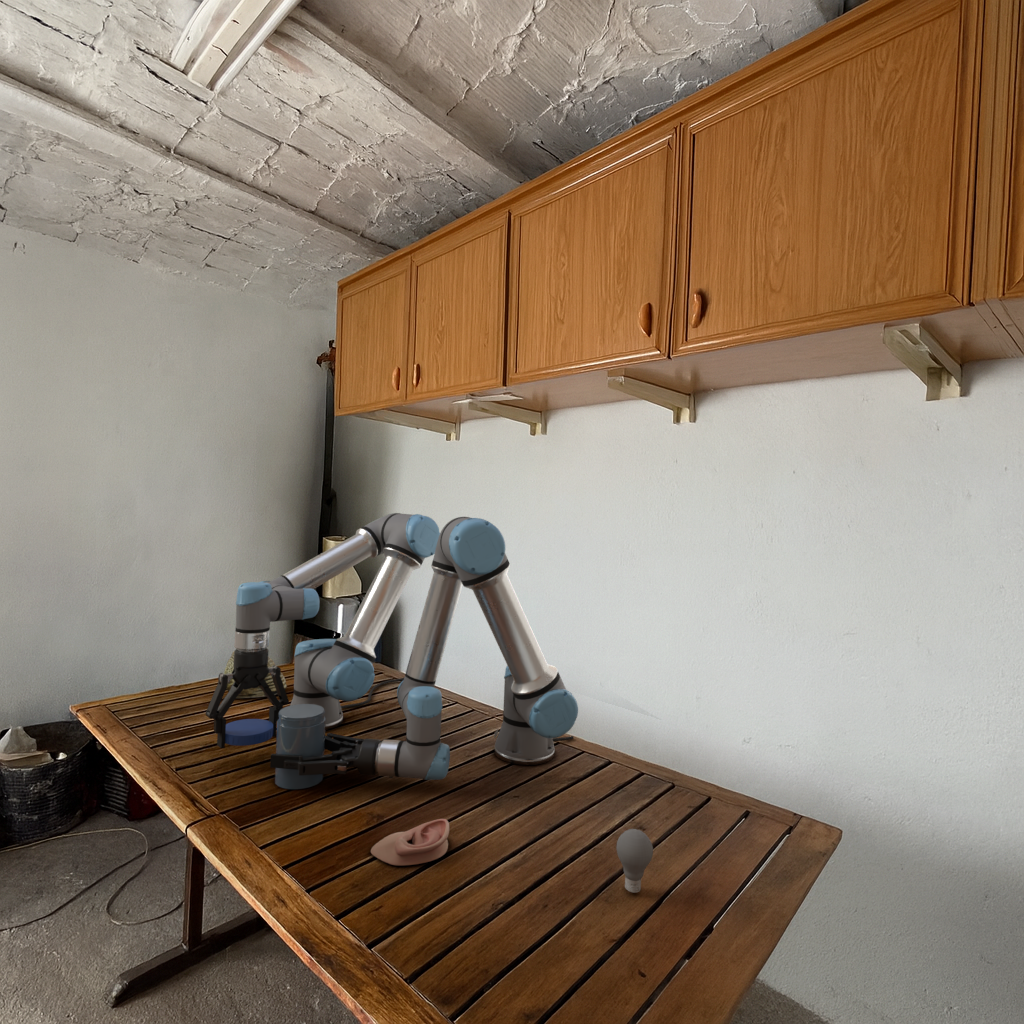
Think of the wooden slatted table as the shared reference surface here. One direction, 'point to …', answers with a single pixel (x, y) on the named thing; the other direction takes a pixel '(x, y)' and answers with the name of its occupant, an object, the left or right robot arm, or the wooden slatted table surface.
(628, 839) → the light bulb
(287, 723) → the jar
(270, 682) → the fossil
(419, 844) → the anatomical model
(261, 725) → the lid
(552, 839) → the wooden slatted table surface
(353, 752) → the right robot arm
